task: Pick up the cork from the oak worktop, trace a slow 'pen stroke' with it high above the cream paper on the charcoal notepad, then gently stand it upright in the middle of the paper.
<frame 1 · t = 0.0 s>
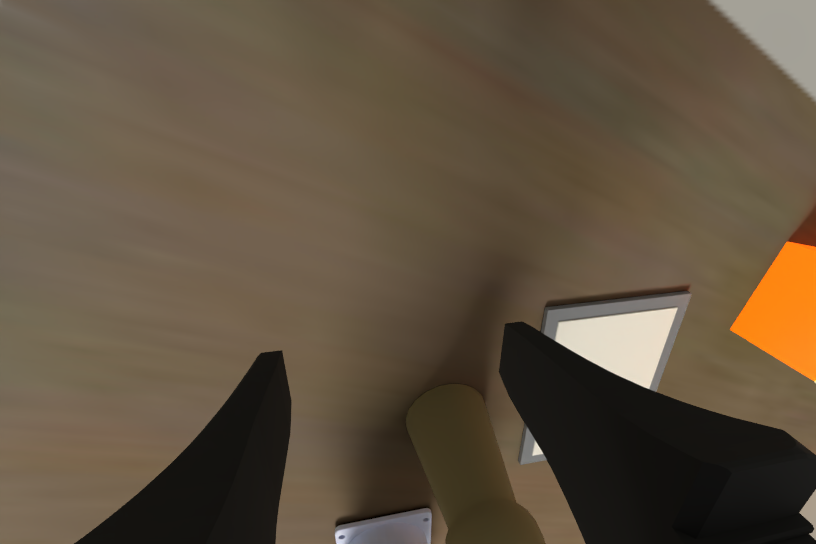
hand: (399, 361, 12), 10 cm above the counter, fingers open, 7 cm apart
cork: (445, 413, 29), on the counter
notepad: (595, 382, 30), on the counter
orange juice: (794, 292, 30), on the counter
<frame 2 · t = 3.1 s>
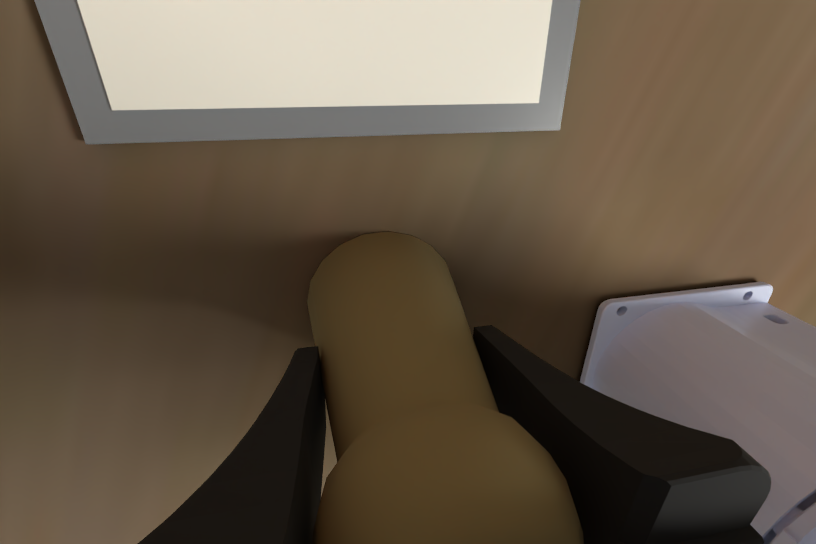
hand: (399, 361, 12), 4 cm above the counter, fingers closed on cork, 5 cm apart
cork: (382, 298, 16), on the counter, touching gripper
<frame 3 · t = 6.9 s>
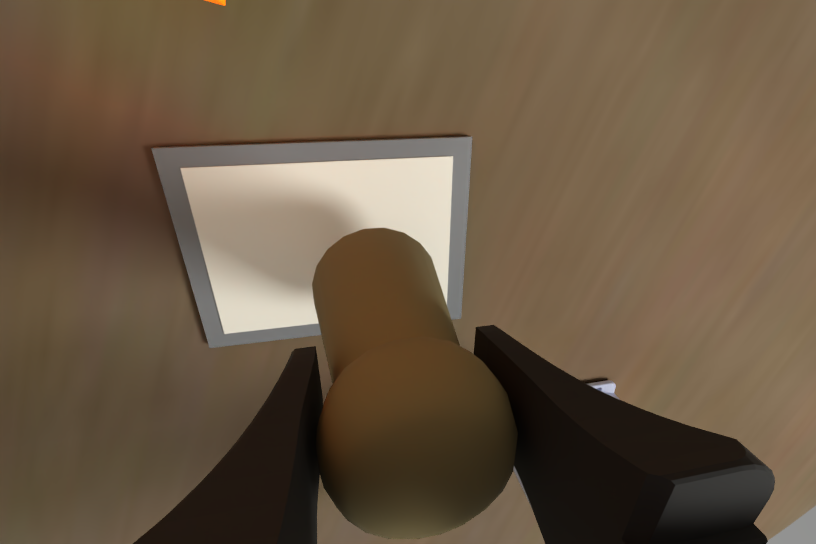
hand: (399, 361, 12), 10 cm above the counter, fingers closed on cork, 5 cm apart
cork: (376, 286, 19), point 4 cm above the counter, touching gripper
notepad: (333, 245, 21), on the counter
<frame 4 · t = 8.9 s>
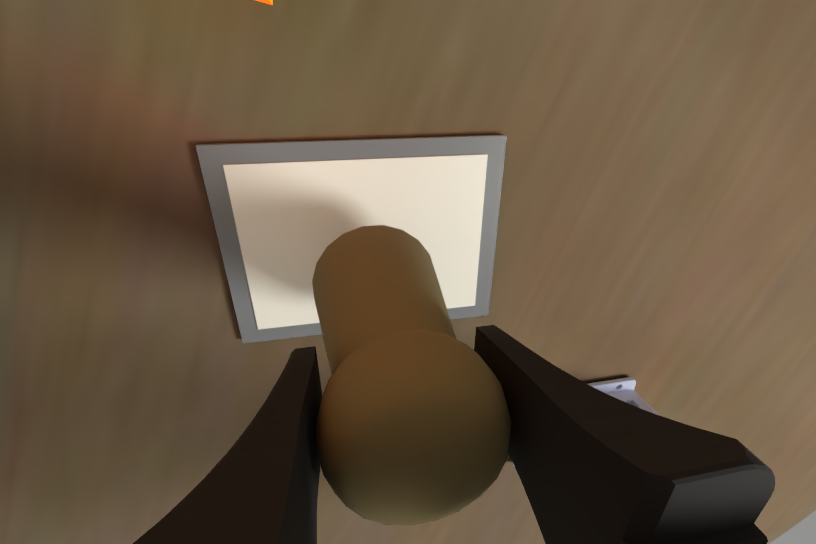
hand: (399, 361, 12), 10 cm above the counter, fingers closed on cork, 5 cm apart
cork: (375, 282, 19), point 3 cm above the counter, touching gripper
notepad: (366, 242, 22), on the counter
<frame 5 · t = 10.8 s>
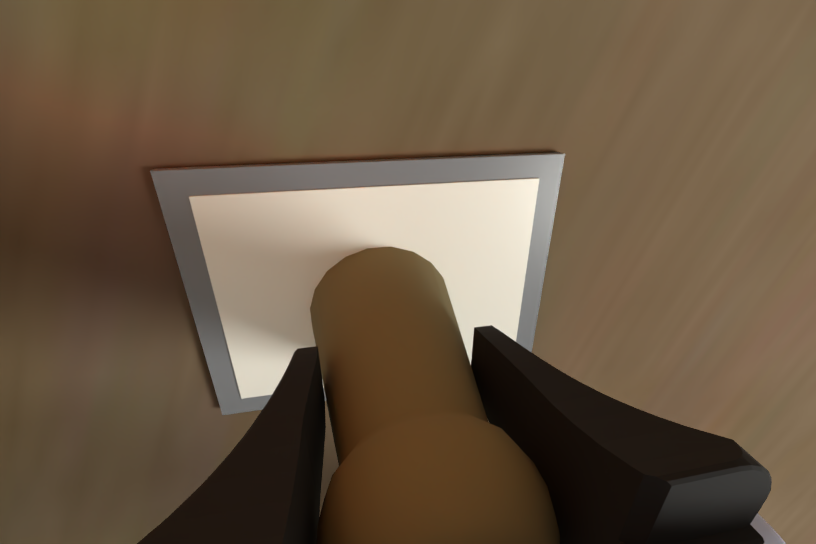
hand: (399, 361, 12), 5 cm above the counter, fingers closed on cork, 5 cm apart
cork: (381, 308, 17), resting on notepad, touching gripper
notepad: (380, 289, 17), on the counter
when the fingers open (5 cm above the counter, at t = 11.3 s): cork stays where it is, resting on notepad.
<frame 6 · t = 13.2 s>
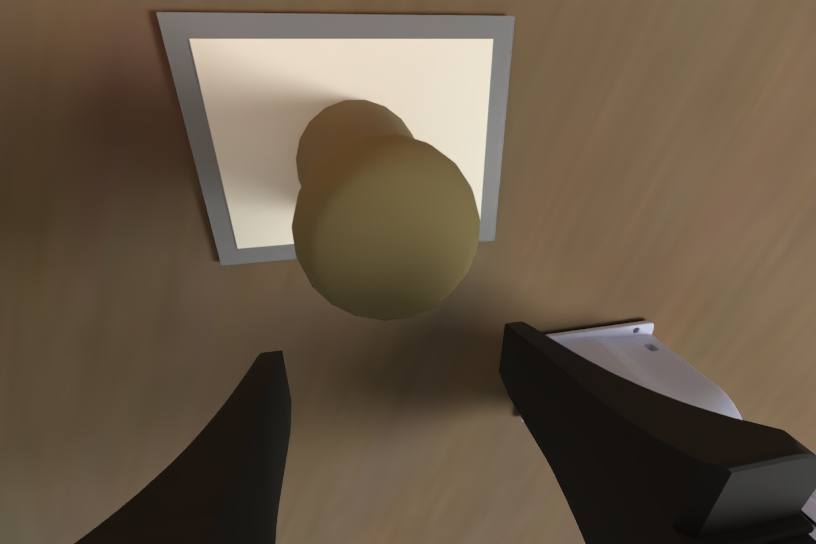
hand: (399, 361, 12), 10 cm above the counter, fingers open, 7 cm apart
cork: (359, 165, 19), resting on notepad
notepad: (358, 147, 19), on the counter
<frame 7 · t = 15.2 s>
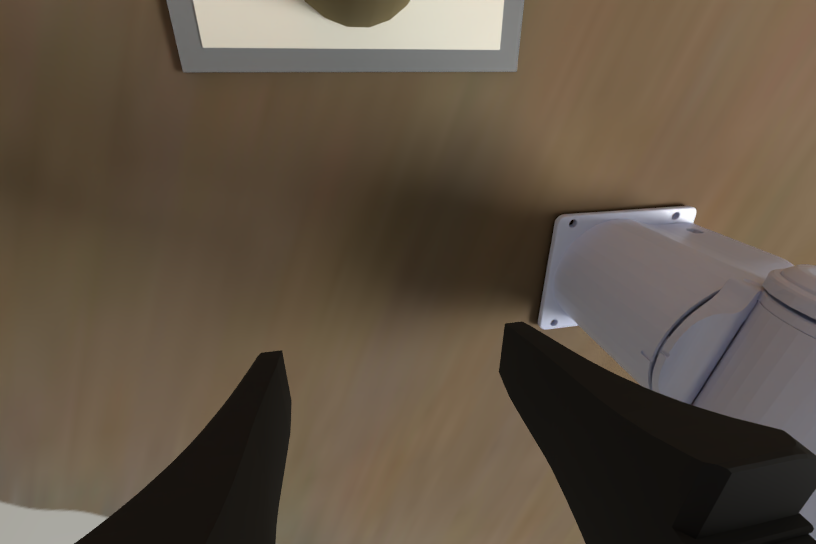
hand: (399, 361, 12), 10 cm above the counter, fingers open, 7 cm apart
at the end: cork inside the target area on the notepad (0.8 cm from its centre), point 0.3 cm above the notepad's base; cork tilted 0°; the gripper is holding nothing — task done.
